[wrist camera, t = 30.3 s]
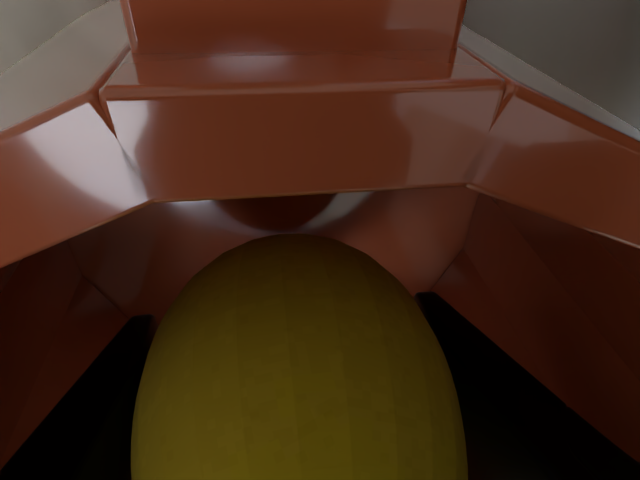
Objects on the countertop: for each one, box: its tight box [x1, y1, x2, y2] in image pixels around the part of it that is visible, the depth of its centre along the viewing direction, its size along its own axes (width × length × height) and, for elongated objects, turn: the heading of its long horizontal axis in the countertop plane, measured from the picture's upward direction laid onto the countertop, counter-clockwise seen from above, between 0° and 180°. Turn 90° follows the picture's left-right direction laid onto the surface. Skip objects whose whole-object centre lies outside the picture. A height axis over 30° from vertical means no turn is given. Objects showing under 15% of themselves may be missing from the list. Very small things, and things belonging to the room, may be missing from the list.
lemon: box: [131, 233, 468, 480], centre depth 8 cm, size 6×6×8 cm
